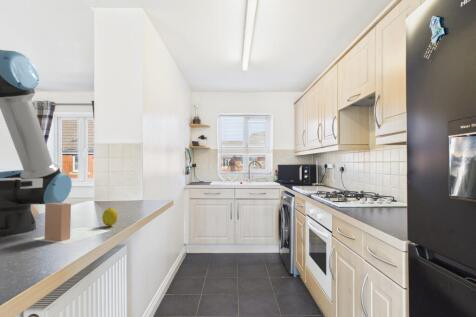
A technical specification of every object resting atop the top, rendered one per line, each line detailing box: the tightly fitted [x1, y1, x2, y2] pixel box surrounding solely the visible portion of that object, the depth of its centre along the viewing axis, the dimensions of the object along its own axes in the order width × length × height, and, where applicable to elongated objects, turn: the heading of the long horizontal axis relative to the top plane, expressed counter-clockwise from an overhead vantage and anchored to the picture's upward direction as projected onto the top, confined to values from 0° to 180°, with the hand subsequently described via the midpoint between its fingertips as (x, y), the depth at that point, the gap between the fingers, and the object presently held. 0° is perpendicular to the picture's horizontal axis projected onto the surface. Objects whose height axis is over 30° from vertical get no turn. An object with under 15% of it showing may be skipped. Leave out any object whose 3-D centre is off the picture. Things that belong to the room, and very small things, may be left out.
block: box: [44, 202, 72, 241], centre depth 86 cm, size 8×3×12 cm, turn 70°
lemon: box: [102, 207, 118, 228], centre depth 104 cm, size 6×6×8 cm
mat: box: [33, 226, 112, 245], centre depth 91 cm, size 16×18×1 cm
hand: (30, 182), depth 78 cm, fingers open, 9 cm apart
